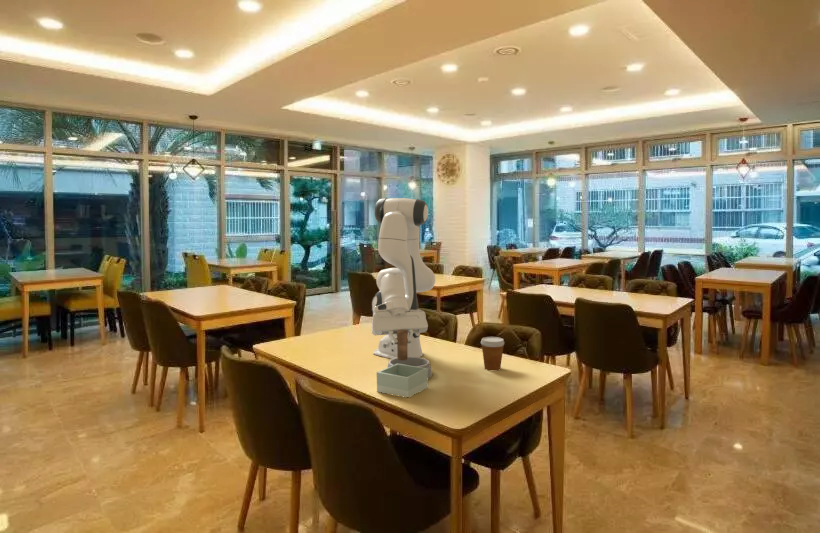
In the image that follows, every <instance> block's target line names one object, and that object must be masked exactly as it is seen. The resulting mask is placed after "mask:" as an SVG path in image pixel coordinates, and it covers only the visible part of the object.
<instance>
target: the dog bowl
mask: <svg viewBox="0 0 820 533" xmlns="http://www.w3.org/2000/svg"><path fill="white" fill-rule="evenodd" d="M430 362H431V361H430V360H429V359H427V358H425V357H408V359H407V360H398V359H397V358H394V359H390V360H389V361H388V363H387V367H386V368H388V367H390V366H392V365H395V364H397V363H398V364H404V365H410V366H416V367H422V368H427V370H428V379H430V378H431V377H432V376H433V372H432V367H431V363H430ZM429 377H430V378H429Z"/></svg>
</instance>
